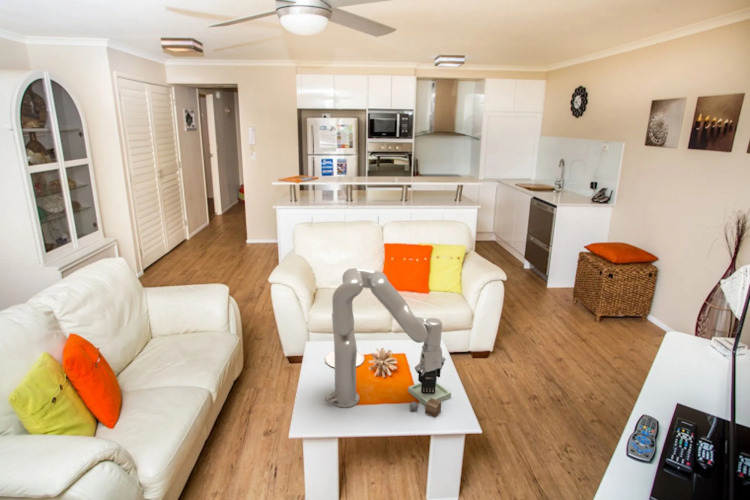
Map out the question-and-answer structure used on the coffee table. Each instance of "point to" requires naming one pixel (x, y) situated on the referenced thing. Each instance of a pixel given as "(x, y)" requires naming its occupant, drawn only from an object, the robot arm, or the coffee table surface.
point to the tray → (439, 394)
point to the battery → (429, 382)
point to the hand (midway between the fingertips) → (429, 378)
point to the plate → (331, 359)
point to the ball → (413, 405)
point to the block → (433, 407)
